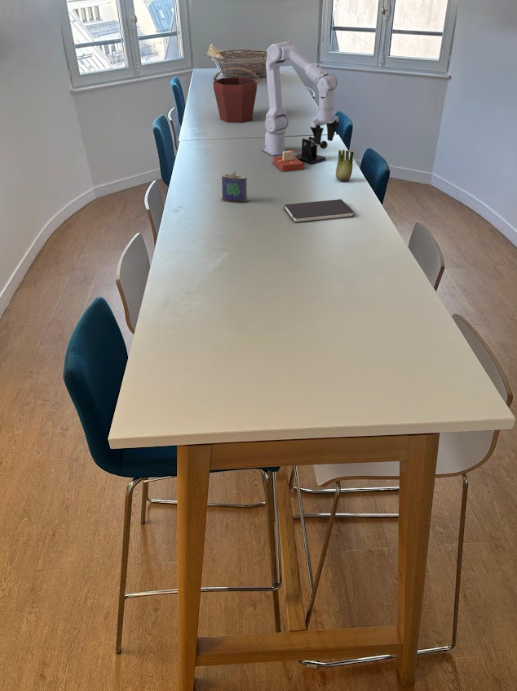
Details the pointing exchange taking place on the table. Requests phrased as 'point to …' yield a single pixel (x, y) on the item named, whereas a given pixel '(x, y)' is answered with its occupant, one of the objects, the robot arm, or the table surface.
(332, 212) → the notebook
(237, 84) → the bucket
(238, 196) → the flask
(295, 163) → the dial panel
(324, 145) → the lever
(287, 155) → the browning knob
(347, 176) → the fennel bulb
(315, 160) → the black lever mount
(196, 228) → the table surface
